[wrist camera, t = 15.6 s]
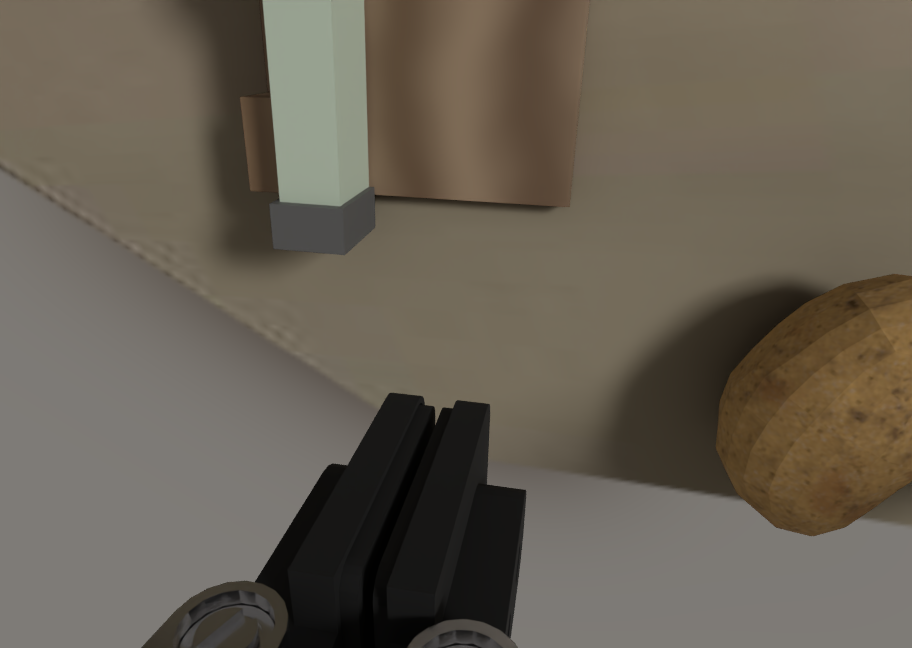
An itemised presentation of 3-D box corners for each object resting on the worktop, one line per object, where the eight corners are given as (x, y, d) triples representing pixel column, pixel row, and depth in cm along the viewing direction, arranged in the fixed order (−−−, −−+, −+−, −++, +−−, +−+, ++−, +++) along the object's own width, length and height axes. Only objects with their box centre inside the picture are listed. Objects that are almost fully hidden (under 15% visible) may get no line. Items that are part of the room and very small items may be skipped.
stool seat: (609, -199, 26) (620, -286, 19) (569, 201, 33) (567, 244, 26) (253, -188, 29) (148, -262, 22) (285, 184, 36) (214, 218, 29)
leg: (285, -123, 28) (229, -154, 24) (372, -124, 28) (333, -156, 23) (308, 221, 35) (268, 248, 30) (379, 227, 34) (349, 255, 30)
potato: (988, 293, 32) (1108, 366, 25) (810, 487, 38) (865, 591, 31) (814, 209, 32) (884, 259, 24) (664, 418, 38) (685, 507, 31)
